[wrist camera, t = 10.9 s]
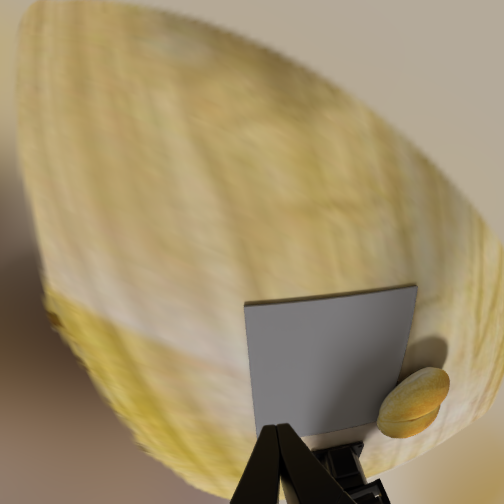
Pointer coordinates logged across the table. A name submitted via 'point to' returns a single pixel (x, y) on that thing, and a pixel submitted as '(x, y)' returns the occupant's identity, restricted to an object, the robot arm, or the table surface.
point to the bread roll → (413, 403)
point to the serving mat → (327, 358)
